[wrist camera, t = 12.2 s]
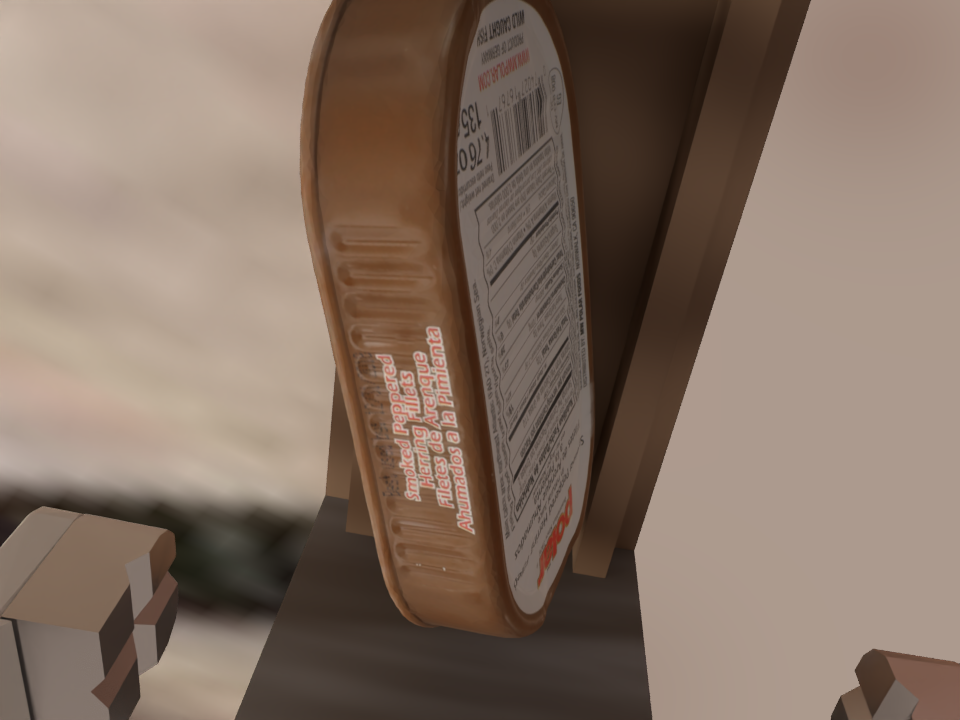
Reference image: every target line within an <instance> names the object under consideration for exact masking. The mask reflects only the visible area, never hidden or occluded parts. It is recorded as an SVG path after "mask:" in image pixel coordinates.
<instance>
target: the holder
mask: <svg viewBox="0 0 960 720" xmlns="http://www.w3.org/2000/svg"><path fill="white" fill-rule="evenodd" d="M550 1H551V3H552V5H553V7H554V10H555V13H556V15H557V18H558V20H559V23H560V26H561V29H562V32H563V36H564V40H565V43H566V47H567V51H568V56H569V60H570V65H571V71H572V76H573V82H574V89H575V97H576V105H577V113H578V121H579V134H580V148H581V162H582V176H583V191H584V206H585V222H586V237H587V253H588V269H589V285H590V305H591V325H592V345H593V365H594V384H595V436H594V451H593V462H592V471H591V479H590V486H589V493H588V499H587V505H586V510H585V516H584V520H583V524H582V528H581V530H580V533H579V536H578V538H577V540H576V542H575V544H574V546H573V548H572V550H571V551H570V553H569V556H568V559H567V561H566V564H565V567H564V570H563V572H562V575H561V578H560V581H559V583H558V585H557V588H556V590H555V593H554V595H553V597H552V600H551V602H550V604H549V606H548V608H547V612H546V617H545V620H544V623H543V625H542V626H541V627H540V628H539V629H538V630H537V631H536V632H534V633H532V634H530V635H528V636H525V637H521V638H503V637H497V636H491V635H485V634H480V633H475V632H470V631H465V630H460V629H454V628H449V627H444V626H438V627H434V628H428V627H421V626H418V625H416V624H414V623H412V622H410V621H409V620H408V619H406V618H405V617H404V616H403V615H402V614H401V612H400V610H399V609H398V608H397V607H396V605H395V603H394V601H393V600H392V598H391V597H390V594H389V591H388V589H387V587H386V584H385V581H384V578H383V574H382V569H381V566H380V562H379V558H378V554H377V549H376V544H375V539H374V534H373V530H372V525H371V520H370V515H369V511H368V507H367V503H366V499H365V494H364V489H363V484H362V478H361V473H360V468H359V465H358V461H357V458H356V453H355V448H354V443H353V438H352V433H351V429H350V424H349V420H348V416H347V412H346V407H345V403H344V398H343V394H342V389H341V384H340V380H339V376H338V372H337V367H336V371H335V383H334V396H333V408H332V421H331V433H330V446H329V458H328V471H327V483H326V496H325V498H324V500H323V503H322V505H321V508H320V510H319V513H318V515H317V518H316V520H315V523H314V525H313V528H312V530H311V533H310V535H309V537H308V540H307V542H306V545H305V547H304V550H303V552H302V555H301V557H300V560H299V562H298V565H297V567H296V570H295V572H294V575H293V577H292V579H291V582H290V584H289V587H288V589H287V592H286V594H285V597H284V599H283V602H282V604H281V607H280V609H279V612H278V614H277V616H276V619H275V621H274V624H273V626H272V629H271V631H270V634H269V636H268V639H267V641H266V644H265V646H264V649H263V651H262V653H261V656H260V658H259V661H258V663H257V666H256V668H255V671H254V673H253V676H252V678H251V681H250V683H249V686H248V688H247V690H246V693H245V695H244V698H243V700H242V703H241V705H240V708H239V710H238V713H237V715H236V718H235V720H652V712H651V703H650V693H649V685H648V675H647V666H646V656H645V647H644V638H643V629H642V620H641V610H640V601H639V592H638V582H637V573H636V564H635V556H634V549H635V546H636V543H637V540H638V537H639V534H640V531H641V528H642V524H643V521H644V518H645V515H646V512H647V509H648V505H649V503H650V500H651V496H652V493H653V490H654V487H655V483H656V481H657V477H658V475H659V472H660V468H661V465H662V462H663V459H664V456H665V453H666V450H667V447H668V444H669V440H670V437H671V434H672V431H673V428H674V425H675V422H676V419H677V415H678V412H679V409H680V406H681V403H682V400H683V397H684V394H685V391H686V387H687V384H688V381H689V378H690V375H691V372H692V369H693V366H694V362H695V359H696V356H697V353H698V350H699V347H700V344H701V341H702V337H703V334H704V331H705V328H706V325H707V322H708V319H709V316H710V312H711V310H712V306H713V303H714V300H715V297H716V294H717V291H718V288H719V284H720V281H721V278H722V275H723V272H724V269H725V266H726V263H727V259H728V257H729V253H730V250H731V247H732V244H733V241H734V238H735V235H736V231H737V229H738V225H739V222H740V219H741V216H742V213H743V210H744V207H745V204H746V200H747V197H748V194H749V191H750V188H751V185H752V182H753V179H754V175H755V173H756V169H757V166H758V163H759V160H760V157H761V154H762V151H763V147H764V144H765V141H766V138H767V135H768V132H769V129H770V126H771V122H772V119H773V116H774V113H775V110H776V107H777V104H778V101H779V98H780V94H781V92H782V88H783V85H784V82H785V79H786V76H787V73H788V70H789V67H790V64H791V60H792V57H793V54H794V51H795V48H796V45H797V42H798V39H799V35H800V32H801V29H802V26H803V23H804V20H805V17H806V13H807V11H808V7H809V4H810V1H811V0H550Z"/></svg>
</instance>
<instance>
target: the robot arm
mask: <svg viewBox="0 0 960 720" xmlns="http://www.w3.org/2000/svg"><path fill="white" fill-rule="evenodd" d="M175 557H176V547H175V537H174V533H172V532H170V531H169V530H166V529H161V528H156V527H151V526H146V525H141V524H136V523H130V522H125V521H120V520H115V519H110V518H105V517H100V516H95V515H90V514H85V515H84V514H79V513H74V512H69V511H64V510H59V509H54V508H49V507H44V506H43V507H41V508H39V509H37V510H35V511H33V512H31V513H30V514H29V515H28V516H27V517H26V518H25V519H24V520H23V521H22V523H21V524H20V525H19V526H18V527H17V528H16V530H15V531H14V532H13V533H12V534H11V535H10V537H9V538H8V539H7V540H6V541H5V542H4V544H3V545H2V546H1V547H0V720H128V719H129V717H130V716H131V714H132V712H133V710H134V708H135V706H136V704H137V702H138V700H139V699H140V685H139V675H141V674H142V673H144V672H146V671H147V670H149V669H150V668H152V667H153V666H155V665H157V664H158V662H159V660H160V658H161V656H162V654H163V652H164V650H165V648H166V646H167V644H168V642H169V638H170V635H171V632H172V629H173V626H174V622H175V619H176V613H177V606H178V583H177V582H176V581H175V579H174V578H173V577H172V576H171V575H170V574H169V572H168V569H169V567H170V565H171V564H172V562H173V560H174V558H175ZM855 673H856V675H857V678H858V681H859V684H860V686H859V687H857V688H855V689H853V690H851V691H849V692H848V693H846V694H844V695H842V696H841V697H840V699H839V701H838V703H837V705H836V707H835V709H834V711H833V713H832V715H831V720H960V663H956V662H953V661H946V660H940V659H934V658H927V657H921V656H915V655H909V654H902V653H896V652H890V651H884V650H877V649H872V650H871V651H869V652H868V653H866V654H865V655H863V657H862V659H861V660H860V662H859V664H858V666H857V667H856V669H855Z"/></svg>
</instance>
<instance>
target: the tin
mask: <svg viewBox="0 0 960 720" xmlns="http://www.w3.org/2000/svg"><path fill="white" fill-rule="evenodd" d="M300 177H301V195H302V203H303V212H304V220H305V226H306V232H307V238H308V243H309V247H310V252H311V256H312V262H313V267H314V271H315V275H316V279H317V283H318V288H319V292H320V296H321V301H322V305H323V309H324V314H325V318H326V323H327V327H328V331H329V336H330V341H331V346H332V351H333V355H334V360H335V364H336V367H337V372H338V376H339V380H340V384H341V389H342V394H343V398H344V403H345V407H346V412H347V416H348V420H349V424H350V429H351V433H352V438H353V443H354V448H355V453H356V458H357V461H358V465H359V468H360V473H361V478H362V484H363V489H364V494H365V499H366V503H367V507H368V511H369V515H370V520H371V525H372V530H373V534H374V539H375V544H376V549H377V554H378V558H379V562H380V566H381V569H382V574H383V578H384V581H385V584H386V587H387V589H388V591H389V594H390V597H391V598H392V600H393V601H394V603H395V605H396V607H397V608H398V609H399V610H400V612H401V614H402V615H403V616H404V617H405V618H406V619H408V620H409V621H410V622H412V623H414V624H416V625H418V626H421V627H428V628H434V627H438V626H444V627H449V628H454V629H460V630H465V631H470V632H475V633H480V634H485V635H491V636H497V637H503V638H521V637H525V636H528V635H530V634H532V633H534V632H536V631H537V630H538V629H539V628H540V627H541V626H542V625H543V623H544V620H545V617H546V612H547V608H548V606H549V604H550V602H551V600H552V597H553V595H554V593H555V590H556V588H557V585H558V583H559V581H560V578H561V575H562V572H563V570H564V567H565V564H566V561H567V559H568V556H569V553H570V551H571V550H572V548H573V546H574V544H575V542H576V540H577V538H578V536H579V533H580V530H581V528H582V524H583V520H584V516H585V510H586V505H587V499H588V493H589V486H590V479H591V471H592V462H593V451H594V436H595V384H594V365H593V345H592V325H591V305H590V285H589V269H588V253H587V237H586V222H585V206H584V191H583V176H582V162H581V148H580V134H579V121H578V113H577V105H576V97H575V89H574V82H573V76H572V71H571V65H570V60H569V56H568V51H567V47H566V43H565V40H564V36H563V32H562V29H561V26H560V23H559V20H558V18H557V15H556V13H555V10H554V7H553V5H552V3H551V1H550V0H333V1H332V3H331V5H330V7H329V9H328V10H327V12H326V14H325V16H324V19H323V21H322V23H321V26H320V28H319V31H318V34H317V36H316V39H315V42H314V45H313V49H312V52H311V58H310V63H309V67H308V73H307V78H306V82H305V92H304V98H303V106H302V117H301V133H300Z"/></svg>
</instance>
